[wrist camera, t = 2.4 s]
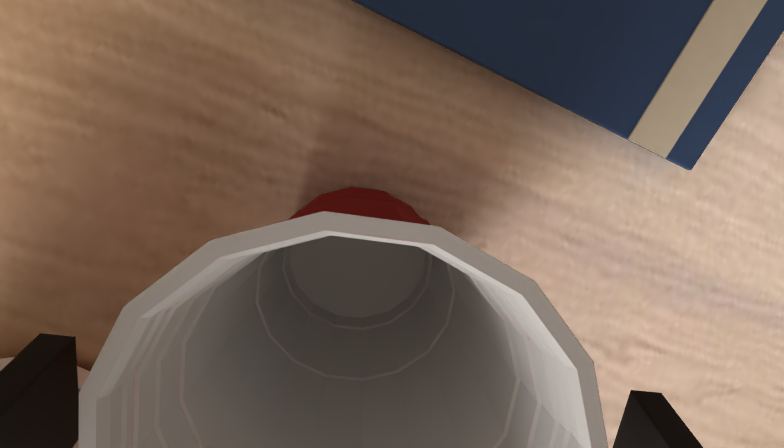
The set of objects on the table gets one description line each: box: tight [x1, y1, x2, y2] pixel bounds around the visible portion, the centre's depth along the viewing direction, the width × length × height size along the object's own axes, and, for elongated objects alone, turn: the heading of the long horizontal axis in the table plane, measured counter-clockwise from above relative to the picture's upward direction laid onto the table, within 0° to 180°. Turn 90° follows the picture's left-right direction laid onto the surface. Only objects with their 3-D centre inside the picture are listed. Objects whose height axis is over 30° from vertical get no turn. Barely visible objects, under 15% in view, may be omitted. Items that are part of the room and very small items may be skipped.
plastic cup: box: [79, 187, 608, 448], centre depth 17 cm, size 11×11×12 cm
